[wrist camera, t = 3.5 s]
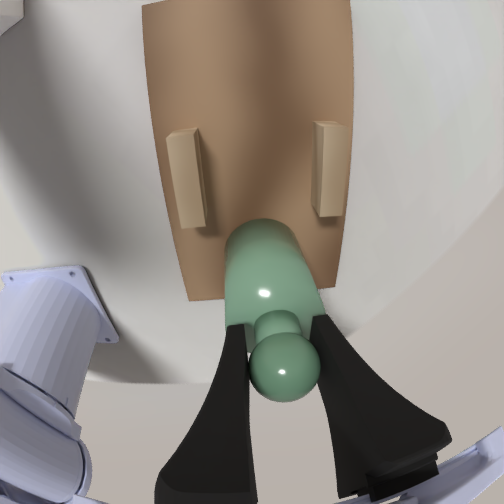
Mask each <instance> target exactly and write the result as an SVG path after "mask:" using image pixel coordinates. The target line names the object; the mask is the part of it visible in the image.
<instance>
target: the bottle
mask: <svg viewBox="0 0 504 504" xmlns="http://www.w3.org/2000/svg"><path fill="white" fill-rule="evenodd" d="M224 280H225V328H226V329H227V327H228V326H229V325H237V324H244V327H245V336H246V345H247V352H249V353H251V355H250V358H249V361H248V374H249V378H250V381H251V383H252V385H253V387H254V388H255V389H256V390H257V392H259V393H260V394H261V395H262V396H264V397H265V398H267V399H269V400H272V401H276V402H292V401H295V400H298V399H300V398H302V397H304V396H305V395H307V394H308V393H309V392H310V391H311V390H312V389H313V388H314V386H315V385H316V383H317V381H318V379H319V376H320V372H321V361H320V356H319V354H318V351H317V350H316V348H315V346H314V345H313V344H312V343H311V342H310V341H309V337H310V331H311V325H312V318H313V316H318V315H325V309H324V306H323V303H322V301H321V298H320V295H319V293H318V290H317V288H316V285H315V282H314V280H313V277H312V275H311V272H310V270H309V267H308V265H307V262H306V260H305V257H304V255H303V252H302V250H301V248H300V245H299V243H298V240H297V238H296V236H295V234H294V232H293V231H292V230H291V229H290V228H289V227H288V226H287V225H285V224H284V223H282V222H280V221H277V220H273V219H267V218H261V219H254V220H250V221H248V222H245V223H243V224H242V225H240V226H239V227H237V228H236V229H235V230H234V231H233V232H232V233H231V234H230V236H229V237H228V239H227V241H226V244H225V249H224Z"/></svg>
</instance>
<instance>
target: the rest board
mask: <svg viewBox="0 0 504 504" xmlns="http://www.w3.org/2000/svg"><path fill="white" fill-rule="evenodd" d="M142 25H143V42H144V55H145V66H146V77H147V86H148V95H149V103H150V111H151V119H152V126H153V133H154V139H155V146H156V152H157V158H158V164H159V170H160V175H161V181H162V186H163V191H164V197H165V202H166V207H167V211H168V216H169V221H170V226H171V230H172V235H173V239H174V243H175V248H176V252H177V256H178V260H179V265H180V269H181V273H182V277H183V280H184V284H185V288H186V292H187V296H188V299H189V301H199V300H212V299H224V298H225V280H224V249H225V244H226V241H227V239H228V237H229V236H230V234H231V233H232V232H233V231H234V230H235V229H236V228H237V227H239V226H240V225H242V224H243V223H245V222H248V221H250V220H254V219H261V218H267V219H273V220H277V221H280V222H282V223H284V224H285V225H287V226H288V227H289V228H290V229H291V230H292V231H293V232H294V234H295V236H296V238H297V240H298V243H299V245H300V248H301V250H302V252H303V255H304V257H305V260H306V262H307V265H308V267H309V270H310V272H311V275H312V277H313V280H314V282H315V285H316V288H317V289H321V288H329V287H335V283H336V277H337V271H338V265H339V259H340V252H341V245H342V238H343V231H344V223H345V214H346V206H347V196H348V186H349V175H350V162H351V147H352V128H353V86H354V78H353V38H352V21H351V7H350V0H165V1H160V2H156V3H151V4H147V5H143V6H142Z"/></svg>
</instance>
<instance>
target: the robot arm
mask: <svg viewBox="0 0 504 504" xmlns="http://www.w3.org/2000/svg"><path fill="white" fill-rule="evenodd" d="M73 272H74V273H75V274H74V273H73ZM1 278H2V281H3V282H4V284H5V286H4V288H3V289H2V291H1V292H0V504H108V503H105V502H102V501H98V500H94V499H91V498H88V497H85V496H86V494H87V492H88V490H89V487H90V483H91V478H92V463H91V458H90V454H89V451H88V449H87V447H86V445H85V444H84V443H83V441H82V440H81V439H80V433H81V426H79V425H78V424H77V423H76V422H75V421H74V419H75V415H76V410H77V407H78V402H79V398H80V394H81V391H82V387H83V383H84V380H85V376H86V373H87V369H88V366H89V362H90V359H91V356H92V353H93V350H94V347H95V343H118V341H119V336H118V334H117V333H116V331H115V329H114V327H113V325H112V324H111V322H110V320H109V318H108V316H107V314H106V312H105V310H104V308H103V307H102V305H101V303H100V301H99V299H98V297H97V294H96V292H95V290H94V288H93V286H92V284H91V282H90V280H89V278H88V275H87V273H86V271H85V269H84V268H83V267H82V266H80V265H74V266H64V267H53V268H43V269H32V270H22V271H12V272H4V273H3V274H2V275H1ZM309 341H310V342H311V343H312V344H313V345H314V346H315V348H316V350H317V351H318V354H319V356H320V361H321V372H320V376H319V379H318V381H317V384H318V387H319V390H320V393H321V396H322V400H323V403H324V406H325V409H326V413H327V417H328V422H329V428H330V433H331V439H332V446H333V452H334V459H335V468H336V478H337V492H338V497H339V499H341V498H345V497H349V496H352V495H356V494H357V495H358V497H357V498H353V499H350V500H346V501H343V502H339V503H335V504H379V503H382V502H385V501H387V500H390V499H393V498H395V497H398V496H400V495H401V496H400V499H399V500H398V501H395V502H392V503H389V504H468V503H469V502H471V501H472V500H473V499H474V498H476V497H477V496H478V495H479V494H480V493H481V492H483V491H484V490H485V489H486V488H487V487H488V486H490V485H491V484H492V483H493V482H494V481H495V480H496V479H498V478H499V477H500V476H501V475H502V474H503V473H504V431H503V429H502V427H501V426H500V427H498V428H497V429H495V430H494V431H493V432H491V433H490V434H488V435H487V436H485V437H484V438H482V439H481V440H479V441H478V442H476V443H475V444H474V445H472V446H471V447H469V448H467V449H466V450H464V451H462V452H461V453H459V454H458V455H456V456H454V457H452V458H451V459H449V460H447V461H445V462H443V463H441V464H439V465H438V466H437V464H436V461H435V460H437V459H438V456H437V453H436V452H438V451H440V450H441V449H443V448H444V447H446V446H447V445H448V444H449V443H451V442H452V438H451V435H450V432H449V430H448V428H447V426H446V424H445V423H444V422H443V421H440V420H439V419H437V418H435V417H433V416H431V415H429V414H428V413H426V412H425V411H423V410H422V409H420V408H418V407H417V406H415V405H414V404H412V403H411V402H410V401H409V400H407V399H405V398H404V397H403V396H402V395H400V394H399V393H398V392H396V391H395V390H394V389H393V388H392V387H391V386H389V385H388V384H387V383H386V382H385V381H384V380H383V379H382V378H381V377H379V376H378V375H377V374H376V373H375V372H374V371H373V370H372V368H371V367H370V366H368V364H367V363H366V362H365V361H364V360H363V359H362V358H361V357H360V356H359V354H358V353H357V352H356V351H355V350H354V348H353V347H352V346H351V345H350V344H349V342H348V341H347V340H346V339H345V337H344V336H343V335H342V333H341V332H340V331H339V329H338V328H337V327H336V325H335V324H334V322H333V321H332V320H331V318H330V317H329V316H328V315H327V314H325V315H318V316H313V318H312V325H311V331H310V337H309ZM249 424H250V422H249V374H248V355H247V345H246V336H245V327H244V324H237V325H229V326H228V327H227V329H226V337H225V342H224V347H223V351H222V355H221V358H220V361H219V365H218V368H217V371H216V374H215V377H214V379H213V382H212V385H211V387H210V390H209V392H208V394H207V397H206V399H205V402H204V403H203V405H202V407H201V410H200V411H199V414H198V415H197V417H196V419H195V421H194V423H193V425H192V426H191V428H190V430H189V432H188V433H187V435H186V436H185V438H184V439H183V441H182V442H181V444H180V445H179V447H178V448H177V450H176V452H175V453H174V454H173V455H172V457H171V458H170V459H169V460H168V462H167V463H166V464H165V466H164V467H163V468H162V469H161V471H160V472H159V475H158V478H157V481H156V485H155V491H154V492H155V494H154V495H155V496H154V497H155V498H154V499H155V500H154V503H155V504H257V502H258V498H257V490H256V482H255V473H254V464H253V455H252V445H251V436H250V425H249Z"/></svg>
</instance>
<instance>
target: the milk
mask: <svg viewBox="0 0 504 504" xmlns="http://www.w3.org/2000/svg"><path fill="white" fill-rule="evenodd" d="M23 17H24V12H23V0H0V35H2V34H3V33H4V32H5V31H7V30H8V29H9V28H10V27H12V26H13V25H14V24H16V23H17V22H18V21H20V20H21V19H22V18H23Z"/></svg>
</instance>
